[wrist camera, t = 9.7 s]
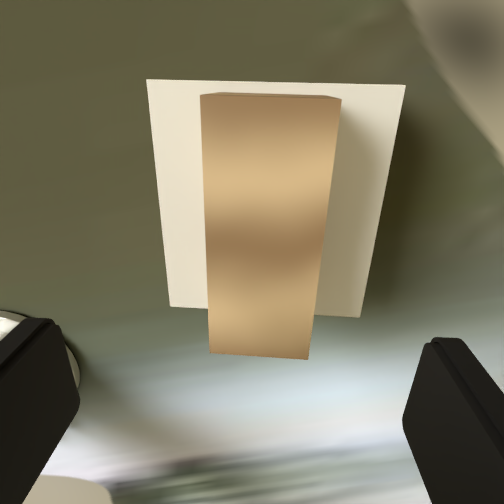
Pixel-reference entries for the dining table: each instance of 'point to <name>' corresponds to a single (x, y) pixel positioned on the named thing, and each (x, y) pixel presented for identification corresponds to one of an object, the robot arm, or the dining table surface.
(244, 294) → the tan brown rectangular block
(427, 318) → the dining table surface
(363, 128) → the white recessed tray
